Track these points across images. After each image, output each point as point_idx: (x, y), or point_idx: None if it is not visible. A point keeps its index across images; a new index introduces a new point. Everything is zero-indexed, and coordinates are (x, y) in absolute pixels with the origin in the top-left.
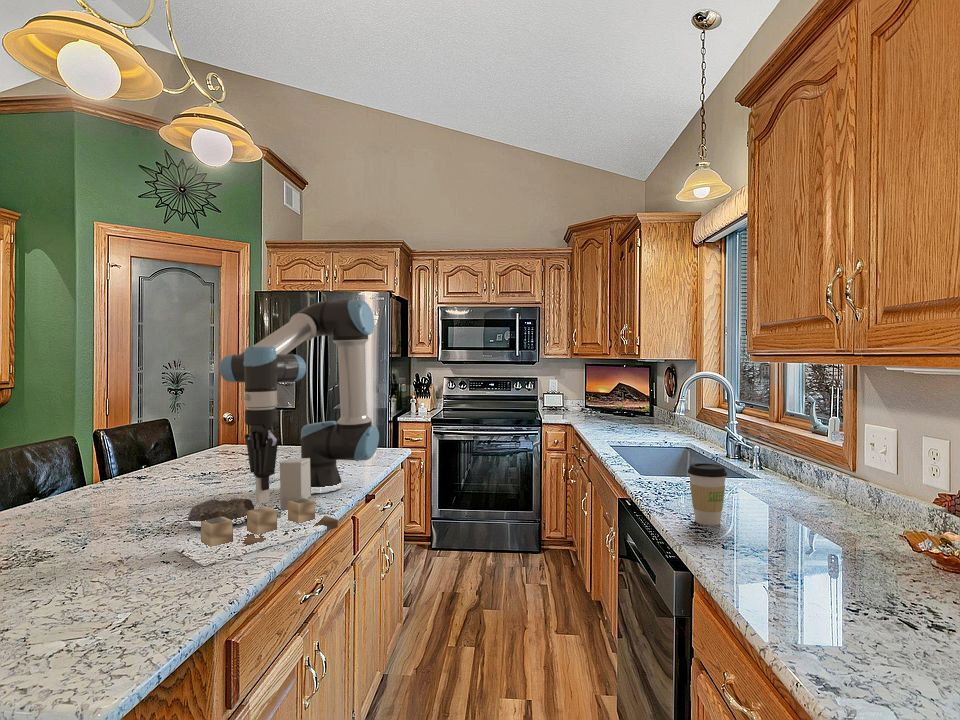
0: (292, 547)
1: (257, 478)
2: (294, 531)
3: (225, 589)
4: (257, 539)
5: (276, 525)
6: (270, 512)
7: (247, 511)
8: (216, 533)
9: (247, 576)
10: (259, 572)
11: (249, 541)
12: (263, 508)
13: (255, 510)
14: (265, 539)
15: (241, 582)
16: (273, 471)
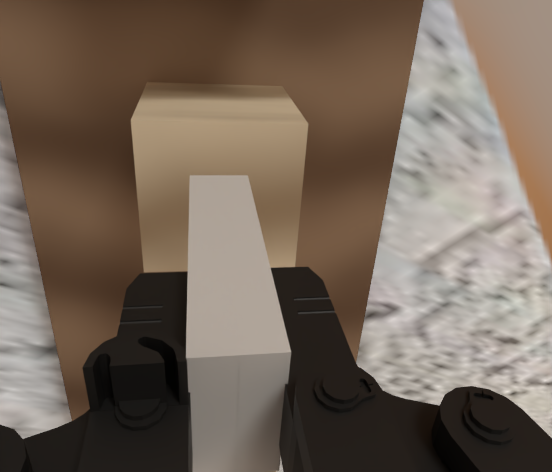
0: (473, 109)
1: (245, 460)
2: (412, 35)
3: (540, 407)
4: (340, 236)
5: (285, 93)
6: (300, 171)
7: (146, 269)
8: None
9: (531, 347)
10: (544, 315)
11: (331, 270)
12: (178, 169)
13: (184, 232)
14: (375, 212)
15: (547, 371)
16: (536, 447)
